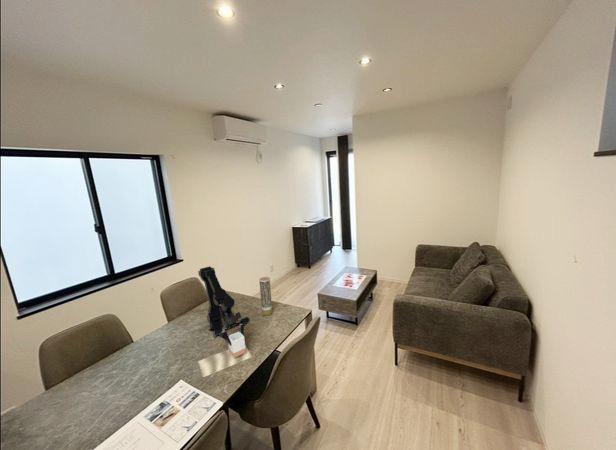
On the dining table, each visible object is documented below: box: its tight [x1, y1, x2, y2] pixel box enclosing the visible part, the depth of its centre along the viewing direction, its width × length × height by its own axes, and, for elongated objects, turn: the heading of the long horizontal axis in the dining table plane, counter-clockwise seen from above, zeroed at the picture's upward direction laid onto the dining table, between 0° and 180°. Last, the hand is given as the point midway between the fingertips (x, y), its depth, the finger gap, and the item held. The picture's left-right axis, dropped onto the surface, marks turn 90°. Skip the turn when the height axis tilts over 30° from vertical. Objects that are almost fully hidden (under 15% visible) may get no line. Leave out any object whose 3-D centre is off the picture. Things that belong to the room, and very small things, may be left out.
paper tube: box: [259, 276, 273, 316], centre depth 171 cm, size 7×7×25 cm
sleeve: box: [228, 330, 246, 358], centre depth 132 cm, size 6×6×9 cm
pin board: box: [198, 345, 253, 378], centre depth 129 cm, size 24×13×4 cm, turn 122°
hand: (237, 342), depth 131 cm, fingers closed on sleeve, 6 cm apart
